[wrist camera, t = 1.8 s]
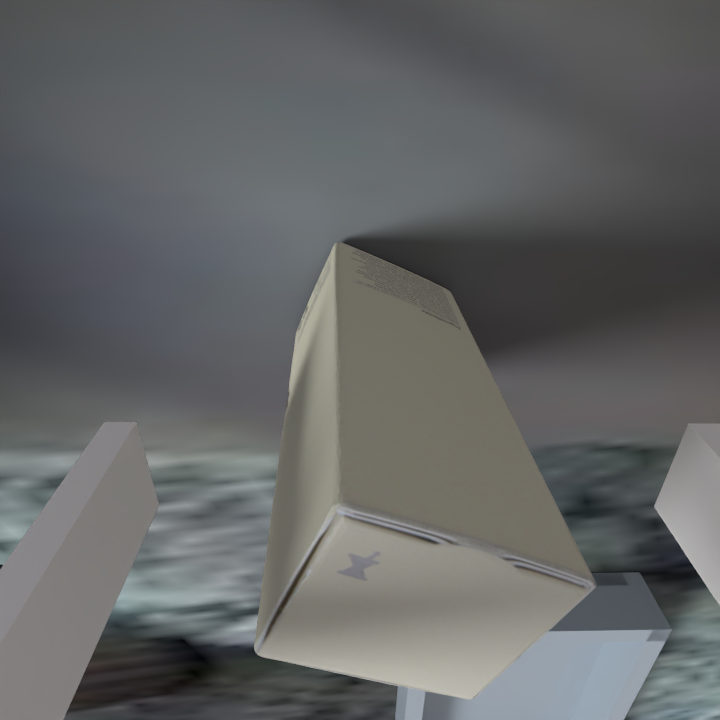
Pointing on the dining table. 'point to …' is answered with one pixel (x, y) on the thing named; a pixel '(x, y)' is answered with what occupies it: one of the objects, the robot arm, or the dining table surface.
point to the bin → (568, 663)
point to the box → (406, 497)
